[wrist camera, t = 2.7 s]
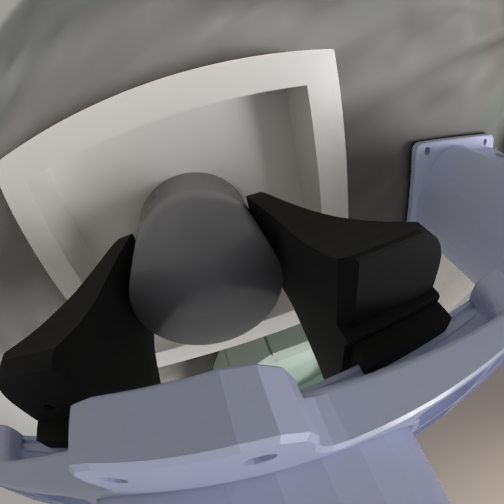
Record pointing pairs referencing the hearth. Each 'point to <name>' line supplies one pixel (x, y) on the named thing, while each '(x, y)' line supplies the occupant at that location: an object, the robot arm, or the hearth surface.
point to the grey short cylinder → (201, 263)
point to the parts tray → (181, 162)
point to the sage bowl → (277, 355)
